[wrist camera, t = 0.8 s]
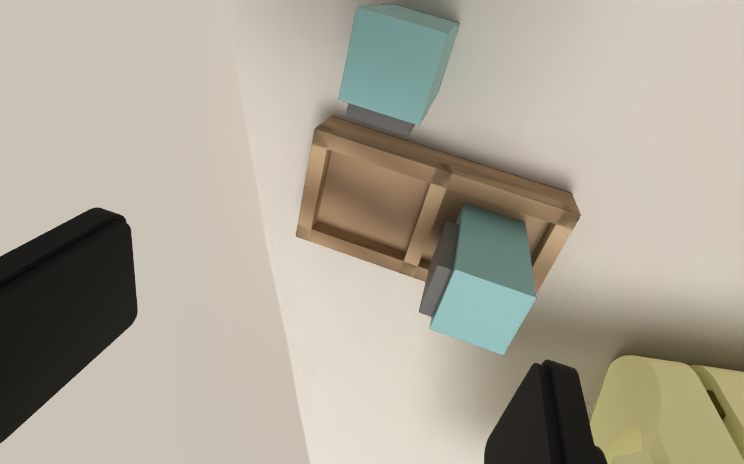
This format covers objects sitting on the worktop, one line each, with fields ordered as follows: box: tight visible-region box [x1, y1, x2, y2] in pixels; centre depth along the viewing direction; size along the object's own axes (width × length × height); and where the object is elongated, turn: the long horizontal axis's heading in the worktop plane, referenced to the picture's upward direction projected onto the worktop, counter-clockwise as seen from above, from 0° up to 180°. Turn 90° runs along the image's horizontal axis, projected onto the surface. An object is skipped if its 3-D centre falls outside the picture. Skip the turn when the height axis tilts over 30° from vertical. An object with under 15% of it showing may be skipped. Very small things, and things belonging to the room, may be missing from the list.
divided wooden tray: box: [296, 116, 581, 293], centre depth 29 cm, size 8×16×3 cm, turn 77°
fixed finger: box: [419, 202, 536, 355], centre depth 25 cm, size 4×5×8 cm
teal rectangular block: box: [338, 4, 460, 136], centre depth 23 cm, size 4×5×8 cm
